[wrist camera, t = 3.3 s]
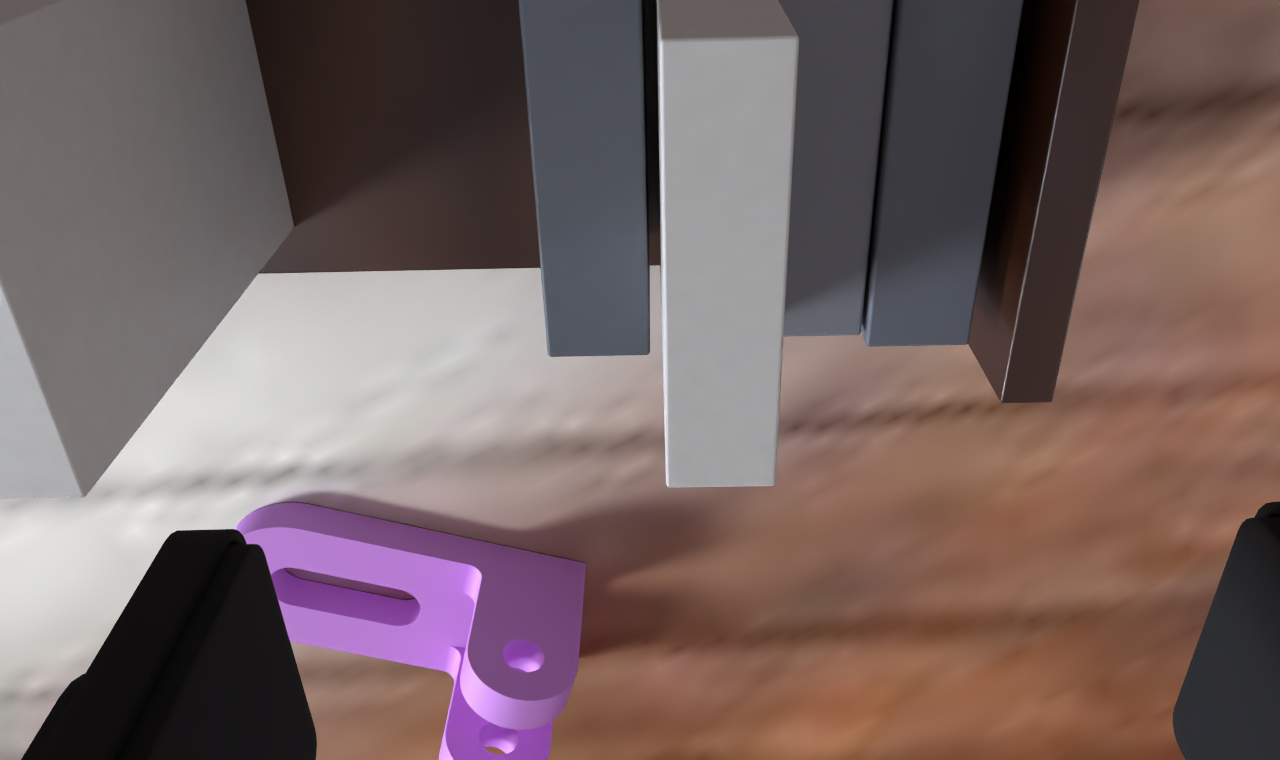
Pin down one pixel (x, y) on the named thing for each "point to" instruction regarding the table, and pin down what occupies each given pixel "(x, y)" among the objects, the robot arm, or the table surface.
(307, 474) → the table surface
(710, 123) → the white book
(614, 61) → the grey books
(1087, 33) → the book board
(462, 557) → the bracket
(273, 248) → the white books
